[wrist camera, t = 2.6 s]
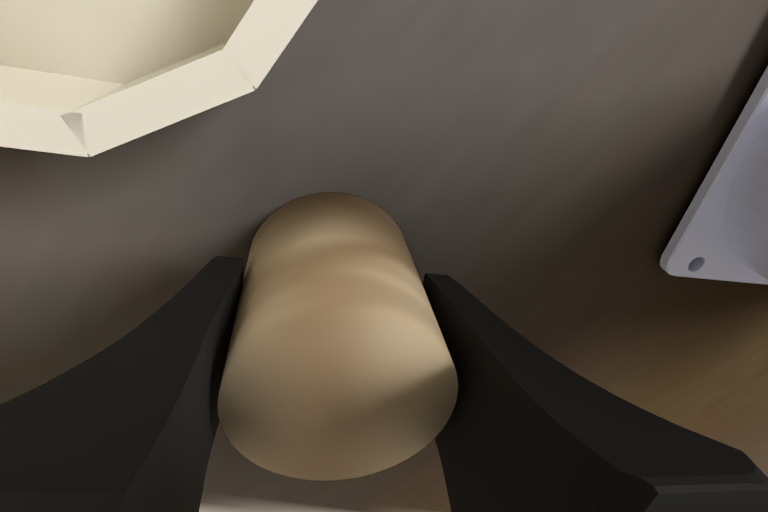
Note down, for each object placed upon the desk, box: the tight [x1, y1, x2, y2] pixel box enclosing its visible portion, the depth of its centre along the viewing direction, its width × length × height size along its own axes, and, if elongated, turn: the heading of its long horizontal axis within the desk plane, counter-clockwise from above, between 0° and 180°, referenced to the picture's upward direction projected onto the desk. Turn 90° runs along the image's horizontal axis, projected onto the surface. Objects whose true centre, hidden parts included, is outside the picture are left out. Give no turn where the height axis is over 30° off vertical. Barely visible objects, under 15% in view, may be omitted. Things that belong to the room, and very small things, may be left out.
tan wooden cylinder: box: [217, 192, 458, 481], centre depth 10 cm, size 4×4×5 cm
